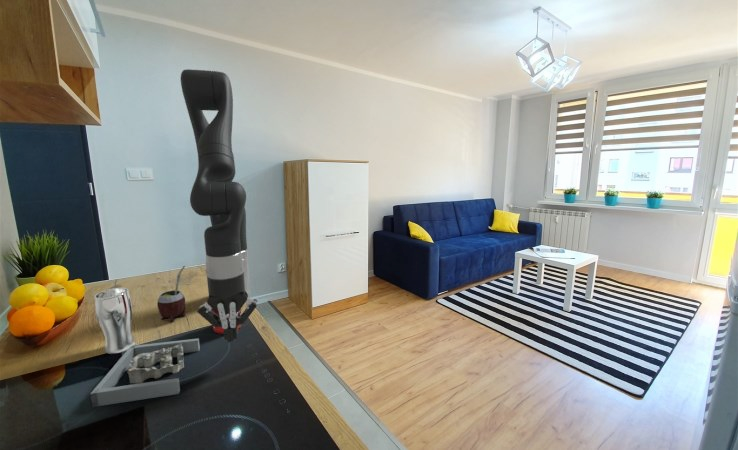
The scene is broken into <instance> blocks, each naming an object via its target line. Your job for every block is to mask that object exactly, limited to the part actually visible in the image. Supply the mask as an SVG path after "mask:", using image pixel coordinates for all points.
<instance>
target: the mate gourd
mask: <svg viewBox="0 0 738 450" xmlns="http://www.w3.org/2000/svg"><path fill="white" fill-rule="evenodd" d="M185 267H186V266H185V265H183V266H182V267H181V268H180V271H179V272H178V274H177V275H176V282H175V283H176V284H175V289H173V290H169V291H164V292H163V293H161V294H160V295H159V297H158V299H157V309H158V312H159V315H160V317H161V318H160V320H161V321H166V320H167V321H168V320H169V321H170V322H169V323H170V324H172V323H174V322H175V319H178V318H179V319H180V318H185V317H186V313H185V311H186V297H185V295H184V293H183V292H182V291H180V290H178V289H179V282H180V278H181V274H182V272H183V271H184V269H185Z"/></svg>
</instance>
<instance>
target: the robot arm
mask: <svg viewBox="0 0 738 450" xmlns="http://www.w3.org/2000/svg"><path fill="white" fill-rule="evenodd" d="M180 85H181V86H180V87H181V91H182V95H183V98H184V103H185V106H186V110H187V114H188V117H189V120H190V124H191V127H192V131H193V135H194V141H195V146H196V151H197V160H198V163H197V164H198V165H197V166H198V168H197V174H196V176H195V180H194V182H193V185H192V187H191V191H190V197H189V199H190V200H189V204H190V207H191V209H192V210H193V212H195V213H196V214H197V215H199V216H201V217H209V218H210V219H209V220H210V223H211V226H208V227H207V228H205V230H204V233H203V234H204V235H203V238H204V245H205V248H204V249H205V275H206V281H207V290H208V291H207V292H208V297H207V298H206V299H207V300H206V301H205V302H204V303H202V304H201V305H200V306H199V308H198V309H197V313H198V314H199V315H200V316H201V317H202V318H203V319H204V320H206V322H208V323H209V324H210V325H212V327H213V326H214V327H222V328H223V331H224V334H223V338H224V341H227V343H234V342H235V340H237V339H238V335H239V329H238V325H241V326H242V325H244V324H245V322H246V321H247V320H248V319H249V317H250V316H251V314H253V312H254V311H255V309H256V308H257V305H258V300H257V299H256V298H254V299H252V298H250V295H251V289H250V288H251V286H250V285H251V283H250V272H249V271H250V270H249V256H248V244H247V215H246V213H247V212H246V207H245V206H246V201H247V193H246V190H245V188H244V186H243V185H242V184H241V183H240V182H238V181H233V180H234V179H235V176H236V165H235V163H236V162H235V157H234V156H235V155H234V152H233V148H232V147H233V146H232V132H233V120H234V119H233V118H234V117H233V114H234V112H233V111H234V107H233V106H234V99H233V89H232V84H231V80H230V78H229V76H228V75H227V73H225V72H222V71H217V70H216V71H215V70H204V69H203V70H202V69H183V70H182V72H181V73H180ZM203 111H211V112H212V111H215V112H217V113H216V114H215V116H214V118H213V119H212V120H211V122H210V123H209V121H208V120H207V118H206V116H205V114H204V112H203ZM244 305H245V309H244V310H243V312H241V316H240V317H238V311H239V310H240V309H241V310H242V308H243V306H244ZM211 307H212V308H213V309H214V310H215V311H216V312H217V313H218V314H219V316H220V317H219V316H218V315H217V314H216V313H215V312H213V311H212V310H211ZM229 314H230V319H229Z"/></svg>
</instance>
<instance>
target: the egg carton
mask: <svg viewBox="0 0 738 450" xmlns="http://www.w3.org/2000/svg"><path fill="white" fill-rule="evenodd" d="M173 358H177V364H173ZM184 361H185V358H184V353H183V345H182V343H180V344H179V345H176V346H174V347H172V348H168V349H164V348H163V349H161V350H158V351H153V352H151V353H141V354H139V355H137V356H136V357H134V358H133V359H132V360H131V362H130V365H129V368H128V369H127V371H126V372H127V374H128V378H129V384H140V383H144V381H146V380H147V379H150V378H151V379H152V378H153V379H155V380H157V379H160V378H161V377H162V376H163V375H164V374H167V373H168V374H169V373H172V374H177V373H179V371H180V370H182V369H183V368H185V364H184ZM156 363H159V364H160V368H156V367H155V365H156ZM141 367H142V368H141Z"/></svg>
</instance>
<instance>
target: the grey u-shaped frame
mask: <svg viewBox="0 0 738 450" xmlns="http://www.w3.org/2000/svg"><path fill="white" fill-rule="evenodd" d="M180 343H182V345H183V354H187V353H194V352H200V351H201V350H200V349H201V347H200V338H199V337H198V338H191V339H181V340H172V341H163V342H155V343H146V344H138V345H137V344H136V345H134V346H131V347H130V348H129V349H128V350H126V351H124V354H122V356H121V357H120V358H119V359H118V360H117V362H116V363H115V364H114V365H113V367H112V368H111V369H110V370H109V371H108V372H107V373H106V375H105V376H104V377H103V378H102V380H101V381H100V382H99V383H98V384H97V385H96V386H95V388H94V389H93V390H92V391H91V392H90V398H91V404H92V408H96V407H100V406H107V405H114V404H121V403H127V402H134V401H141V400H146V399H154V398H159V397H161V398H162V397H166V396H173V395H179V394H180V392H181V387H180V386H181V385H180V378H179V377H177V378H169V379H163V380H162V379H161V380H156V381H149V382H148V381H147V382H143V383H140V384H136V383H132V384H128V385H120V386H116V385H117V384H118V382H119V381H120V379H121V378H122V377H123V376H124V374H125V373H126V372H127V371H128V369H129V365H130V362H131V360H132V359H133V358H134V357H136V356H137V355H139V354H141V353H151V352H153V351H158V350H161V349H163V348H164V349H168V348H172V347H174V346H176V345H179V344H180Z"/></svg>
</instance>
